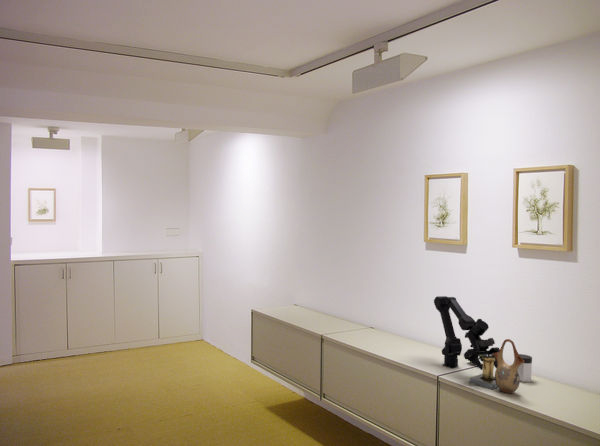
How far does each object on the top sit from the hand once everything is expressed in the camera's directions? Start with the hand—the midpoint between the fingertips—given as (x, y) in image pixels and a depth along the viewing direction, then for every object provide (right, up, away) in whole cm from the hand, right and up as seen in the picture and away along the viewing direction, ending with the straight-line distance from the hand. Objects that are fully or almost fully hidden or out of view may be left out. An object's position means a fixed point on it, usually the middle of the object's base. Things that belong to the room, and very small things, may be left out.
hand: (489, 368), depth 259 cm
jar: (+20, -9, +11) cm, 25 cm away
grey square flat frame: (-1, -8, +1) cm, 8 cm away
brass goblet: (-1, -8, +1) cm, 8 cm away
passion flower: (+6, -8, +33) cm, 35 cm away
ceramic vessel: (+4, -8, -10) cm, 14 cm away
